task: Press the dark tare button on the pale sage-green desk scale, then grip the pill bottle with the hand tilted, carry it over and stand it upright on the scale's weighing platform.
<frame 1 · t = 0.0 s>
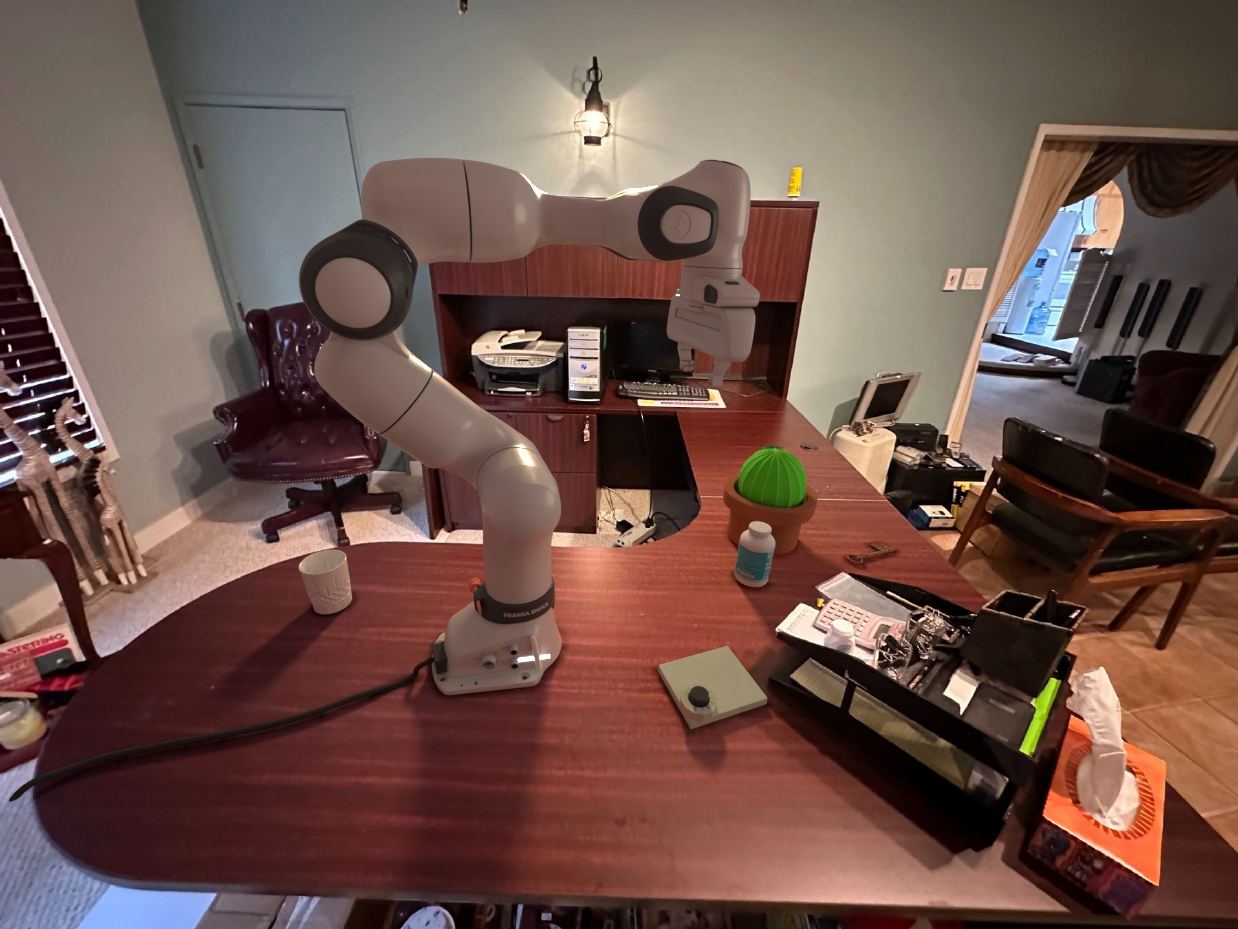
hand: (699, 377, 80), 48 cm above the table, tool pointing down, fingers open, 8 cm apart
potted cactus: (761, 537, 127), on the table
pill bottle: (750, 579, 111), on the table
white cup: (333, 604, 98), on the table
key: (869, 554, 121), on the table
tare button: (699, 696, 77), point 3 cm above the table, slide at 0.1 cm
scale: (710, 687, 83), on the table
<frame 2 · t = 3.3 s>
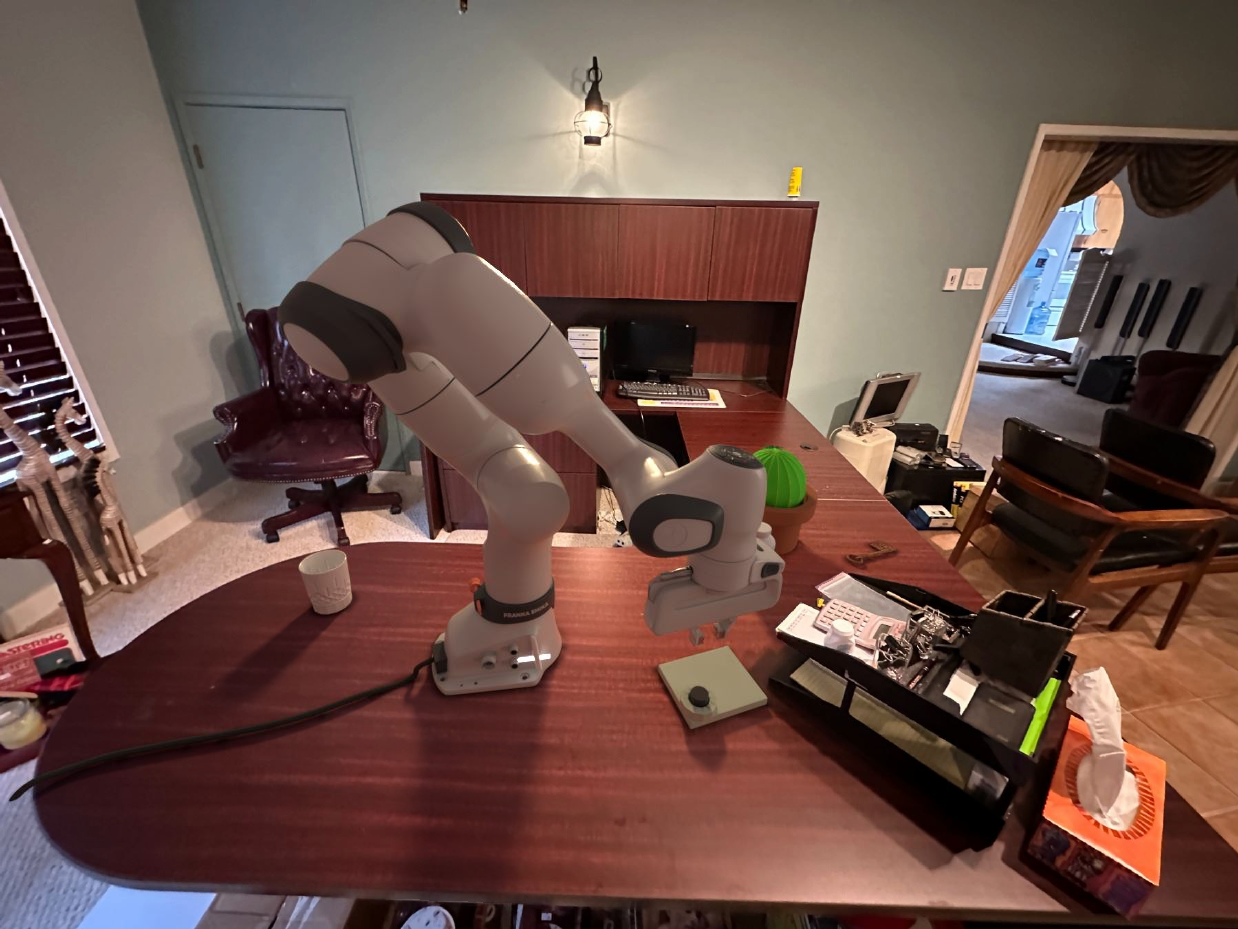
hand: (707, 639, 72), 15 cm above the table, tool pointing down, fingers open, 3 cm apart
nothing on the table moved.
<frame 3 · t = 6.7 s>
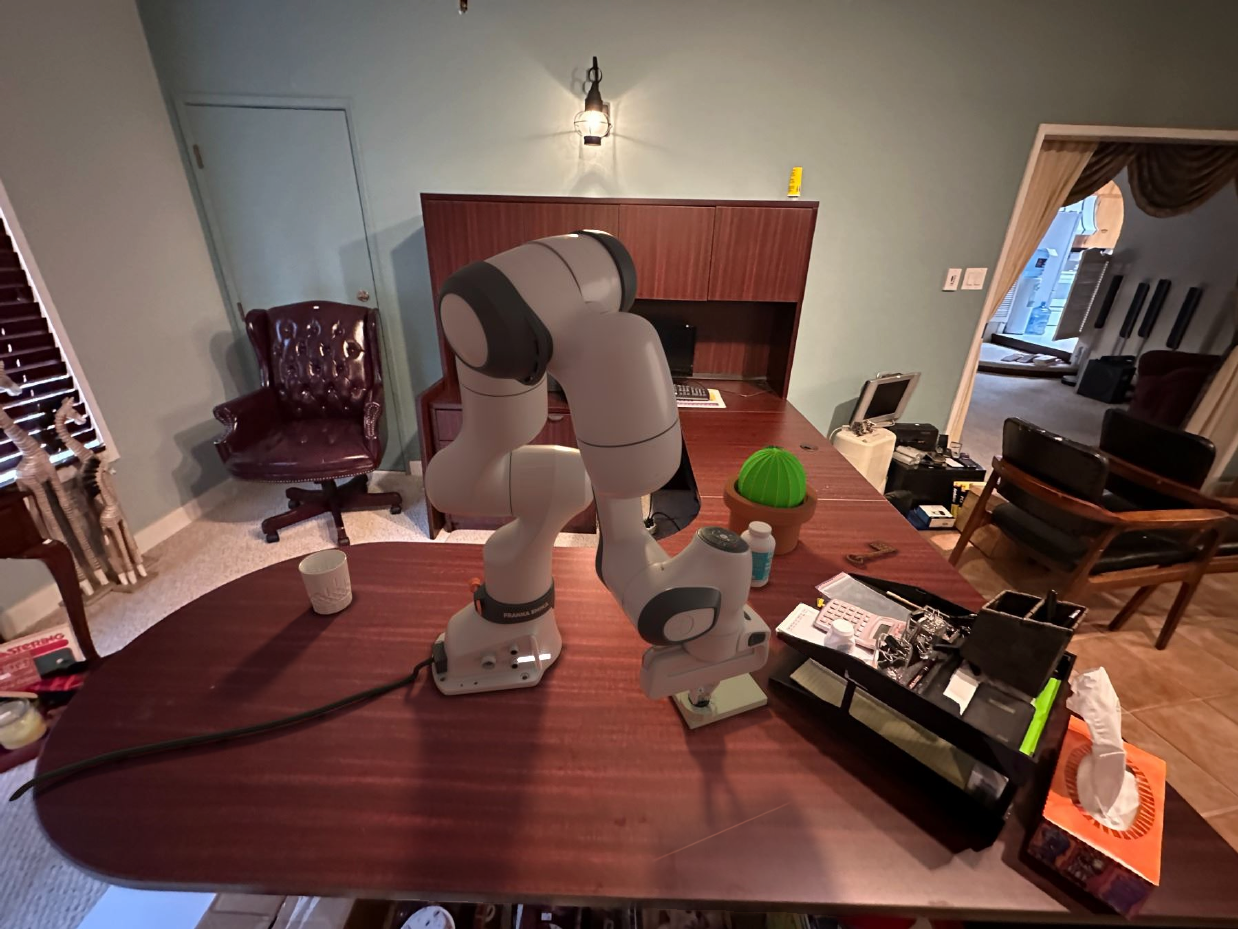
hand: (699, 698, 77), 3 cm above the table, tool pointing down, fingers closed, pressing on tare button
tare button: (698, 700, 77), point 3 cm above the table, slide at -0.7 cm, touching gripper
everything else where it was.
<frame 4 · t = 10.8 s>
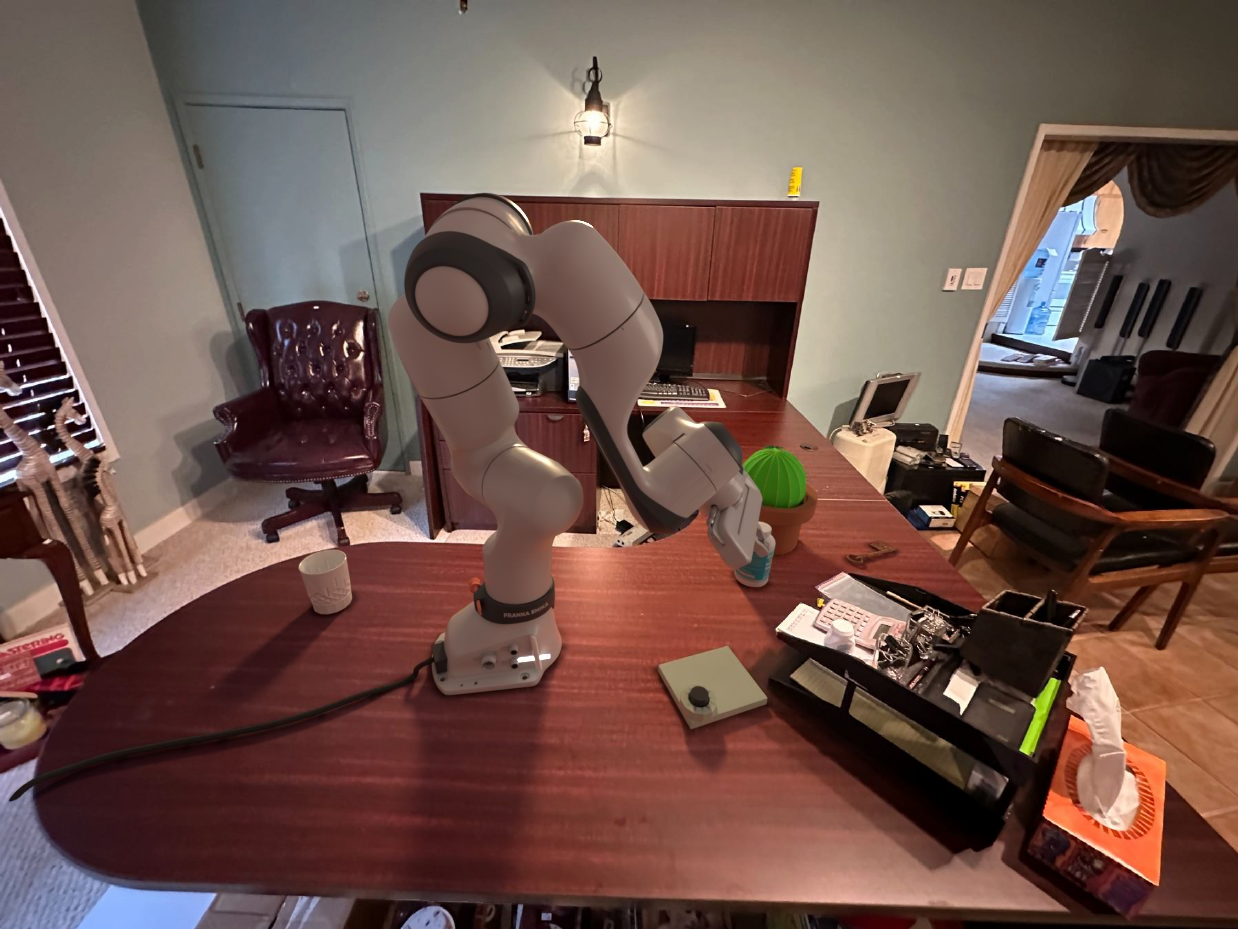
hand: (765, 551, 84), 20 cm above the table, tool tilted 45°, fingers closed
tare button: (699, 696, 77), point 3 cm above the table, slide at 0.1 cm
everything else where it was.
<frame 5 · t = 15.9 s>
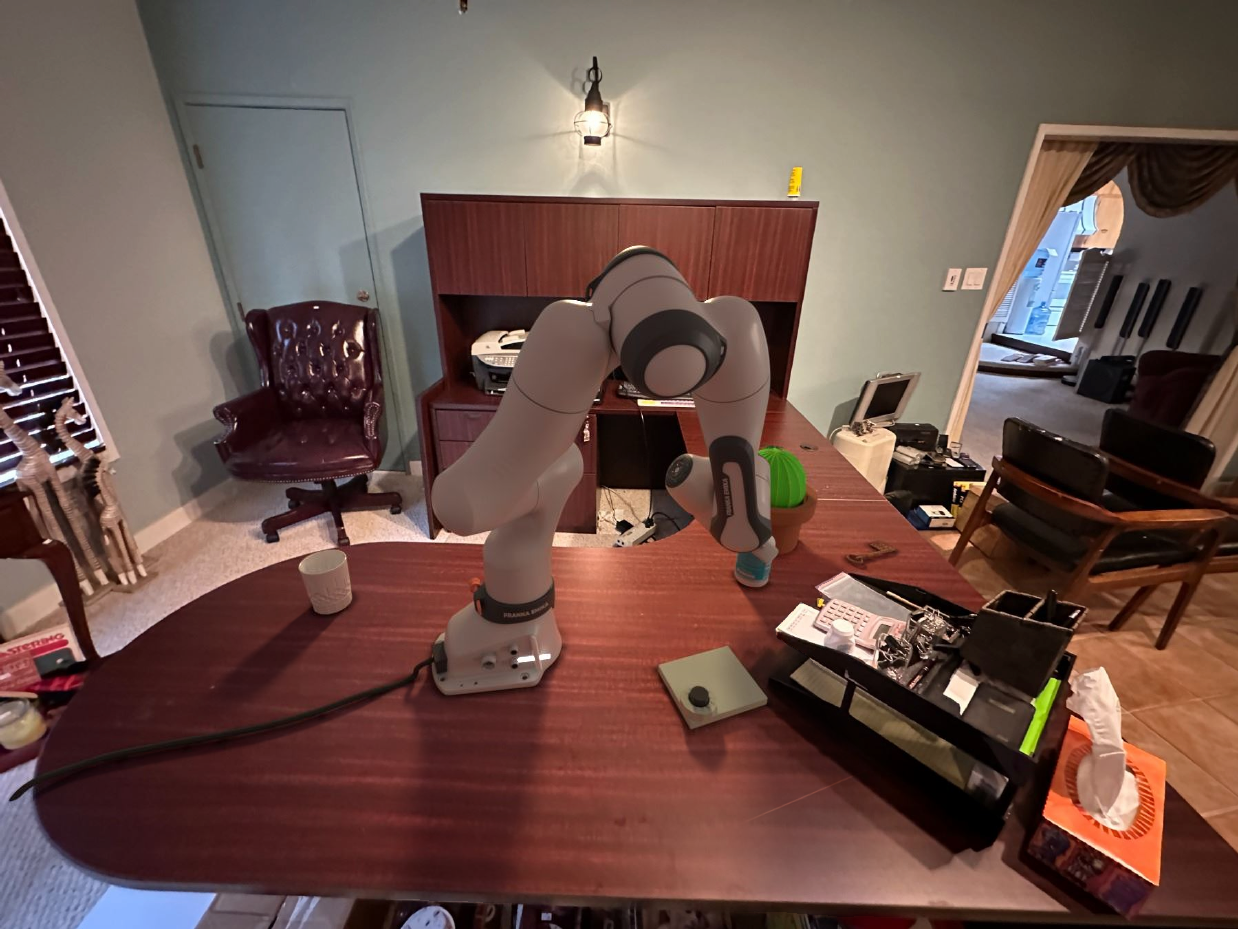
hand: (753, 544, 106), 10 cm above the table, tool tilted 45°, fingers open, 8 cm apart
pill bottle: (750, 579, 111), on the table, touching gripper
everything else where it was.
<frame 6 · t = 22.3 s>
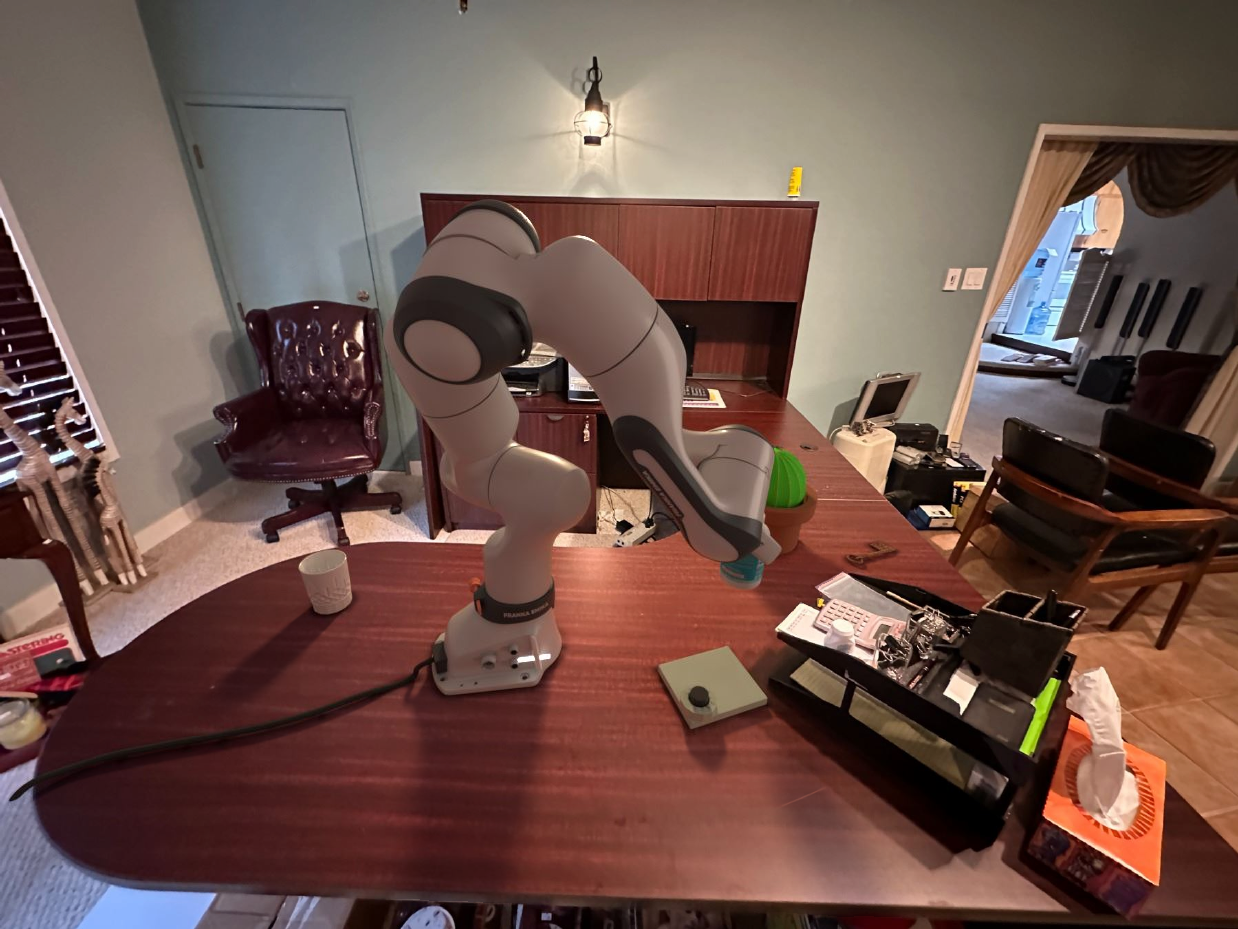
hand: (748, 540, 86), 21 cm above the table, tool tilted 45°, fingers closed on pill bottle, 7 cm apart
pill bottle: (739, 579, 89), point 13 cm above the table, touching gripper
everything else where it was.
when the fingers open (9 cm above the table, at t = 27.8 s): pill bottle stays where it is, resting on scale.
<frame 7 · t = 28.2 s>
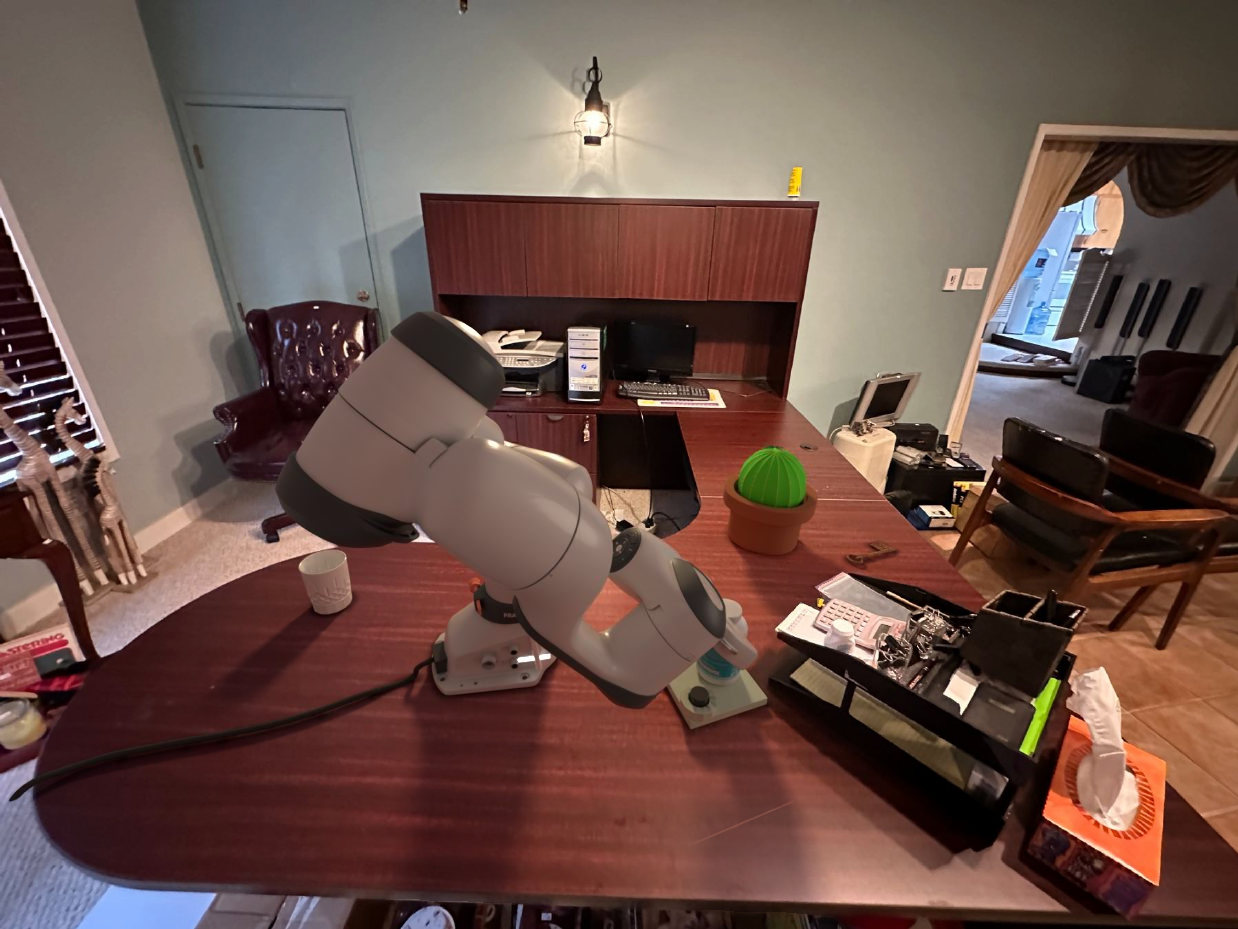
hand: (728, 627, 81), 11 cm above the table, tool tilted 45°, fingers open, 8 cm apart
pill bottle: (717, 670, 85), point 1 cm above the table, touching scale
everything else where it was.
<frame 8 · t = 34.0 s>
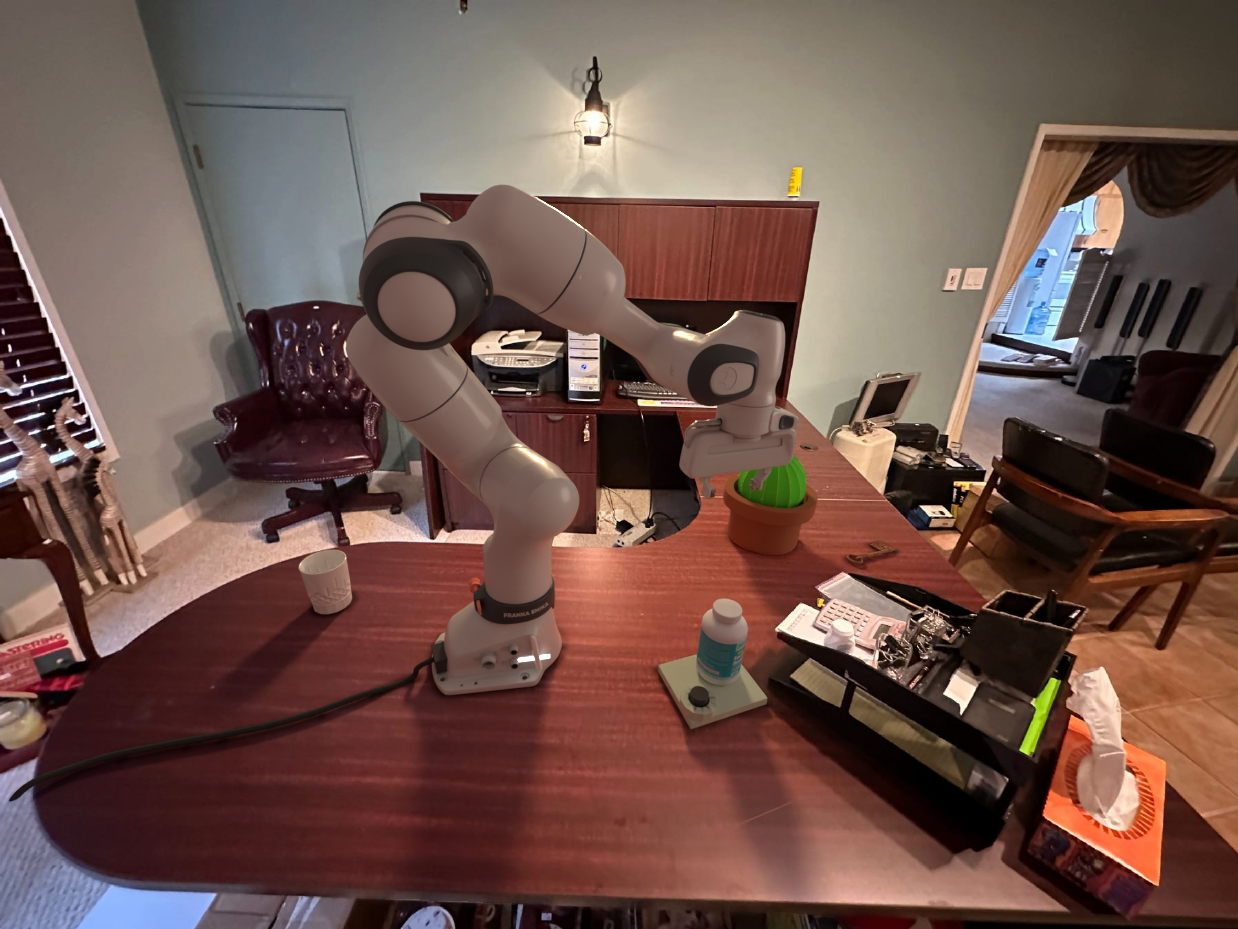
hand: (732, 492, 85), 29 cm above the table, tool pointing down, fingers open, 8 cm apart
nothing on the table moved.
at the end: tare button pushed in 0.8 cm at the most during the clip, back to where it started at the end; pill bottle inside the target area on the scale (2.4 cm from its centre), point 1.2 cm above the scale's base; pill bottle touching scale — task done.
